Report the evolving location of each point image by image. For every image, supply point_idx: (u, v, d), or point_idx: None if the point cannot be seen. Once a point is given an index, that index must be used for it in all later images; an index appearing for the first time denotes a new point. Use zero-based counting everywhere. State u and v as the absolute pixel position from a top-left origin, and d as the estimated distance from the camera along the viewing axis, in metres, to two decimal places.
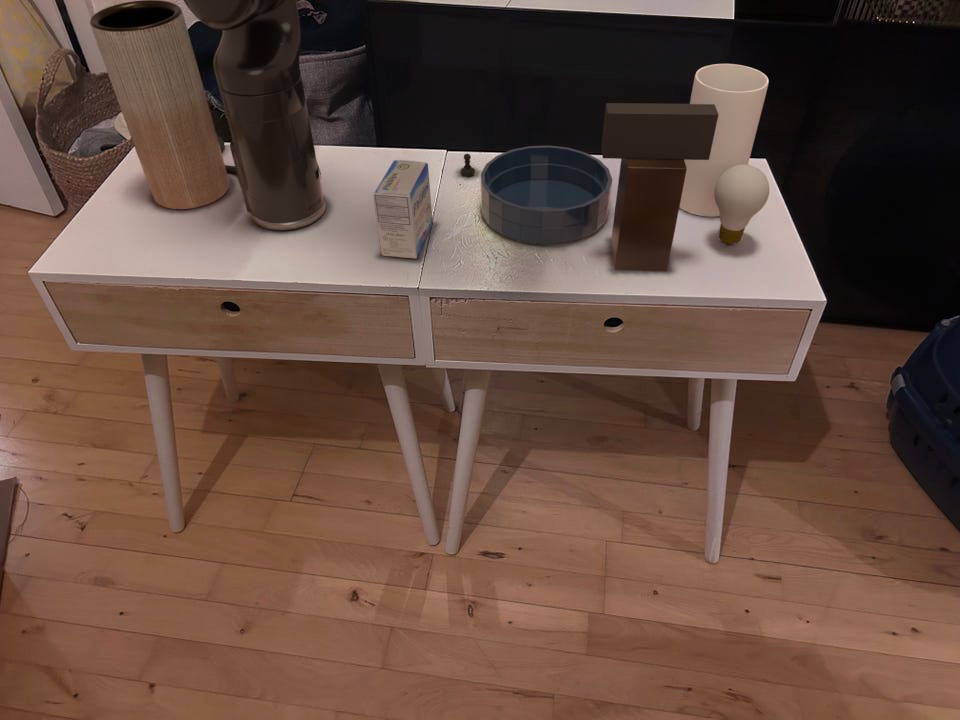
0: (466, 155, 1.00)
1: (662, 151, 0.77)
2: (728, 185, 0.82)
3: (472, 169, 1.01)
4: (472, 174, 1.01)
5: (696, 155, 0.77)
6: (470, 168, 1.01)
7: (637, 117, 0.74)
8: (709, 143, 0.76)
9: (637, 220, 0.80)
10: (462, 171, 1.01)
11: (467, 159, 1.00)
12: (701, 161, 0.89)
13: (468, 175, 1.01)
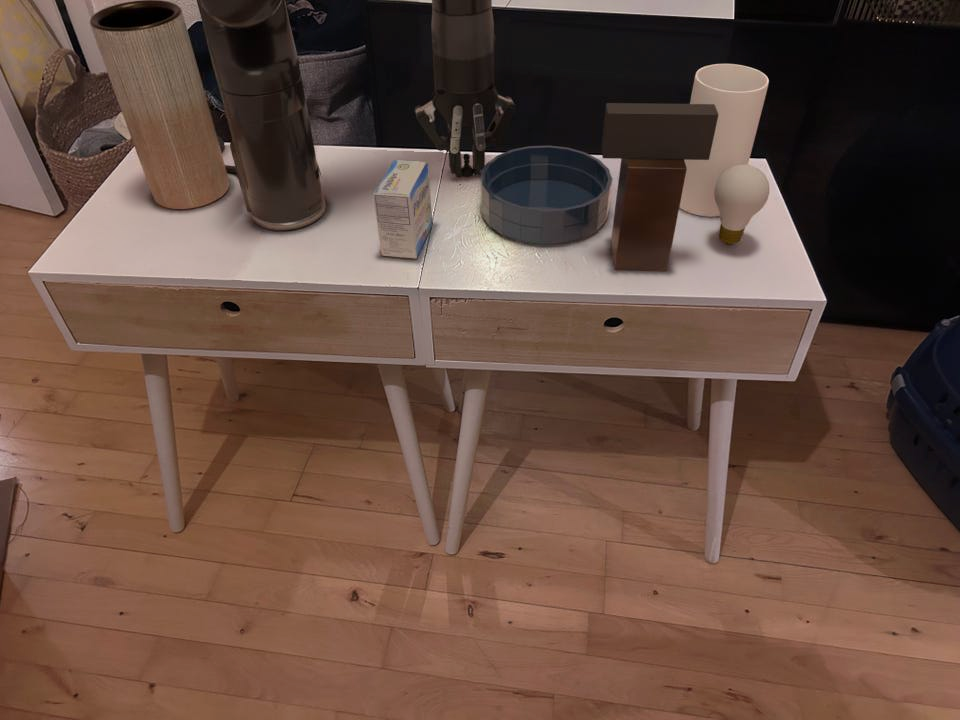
0: (465, 155, 1.00)
1: (662, 151, 0.77)
2: (728, 185, 0.82)
3: (471, 169, 1.01)
4: (471, 174, 1.01)
5: (696, 155, 0.77)
6: (469, 168, 1.01)
7: (637, 117, 0.74)
8: (709, 143, 0.76)
9: (637, 220, 0.80)
10: None
11: (466, 159, 1.00)
12: (701, 161, 0.89)
13: (467, 175, 1.01)
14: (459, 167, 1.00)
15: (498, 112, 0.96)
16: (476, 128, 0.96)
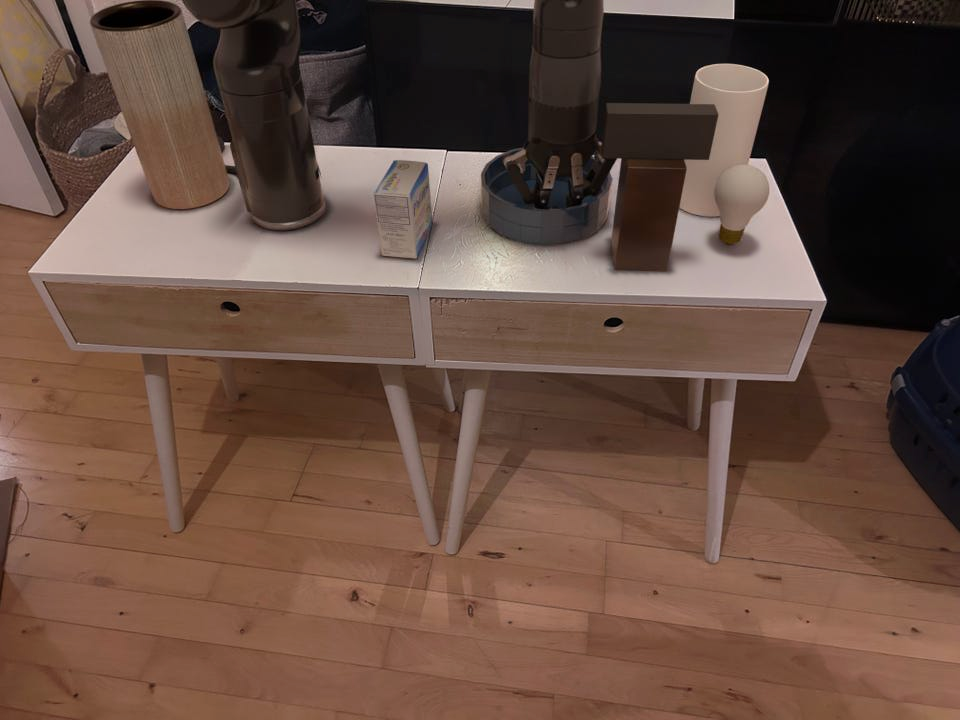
0: (554, 208, 0.89)
1: (662, 151, 0.77)
2: (728, 185, 0.82)
3: None
4: None
5: (696, 155, 0.77)
6: None
7: (637, 117, 0.74)
8: (709, 143, 0.76)
9: (637, 220, 0.80)
10: None
11: None
12: (701, 161, 0.89)
13: None
14: None
15: (598, 160, 0.85)
16: (574, 179, 0.85)
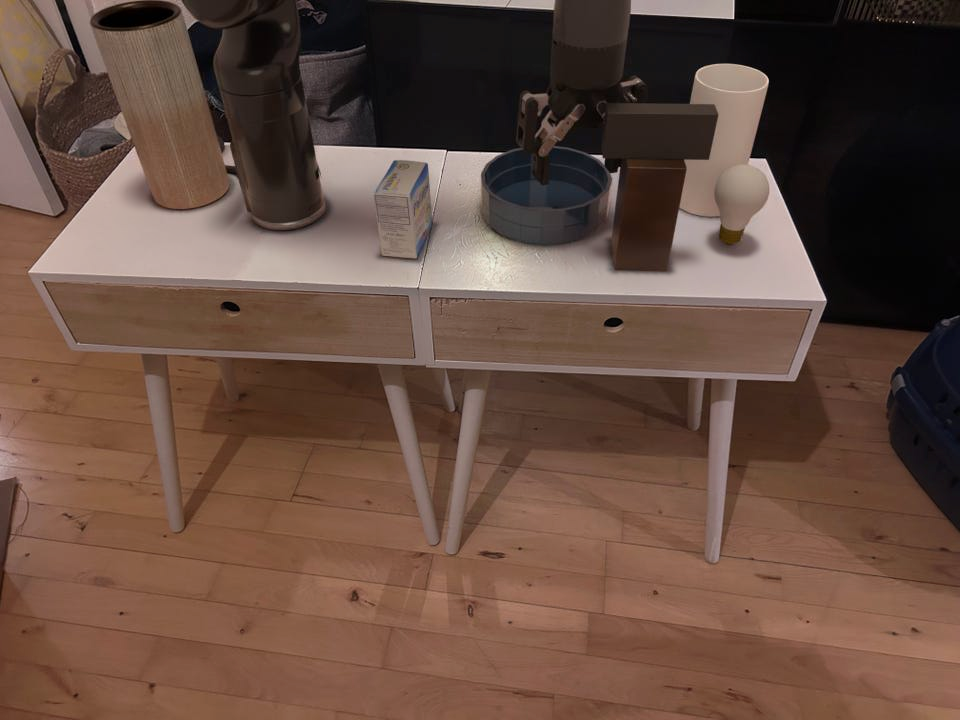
0: (554, 208, 0.89)
1: (662, 151, 0.77)
2: (728, 185, 0.82)
3: None
4: None
5: (696, 155, 0.77)
6: None
7: (637, 117, 0.74)
8: (709, 143, 0.76)
9: (637, 220, 0.80)
10: None
11: None
12: (701, 161, 0.89)
13: None
14: (547, 173, 0.82)
15: (629, 100, 0.80)
16: None
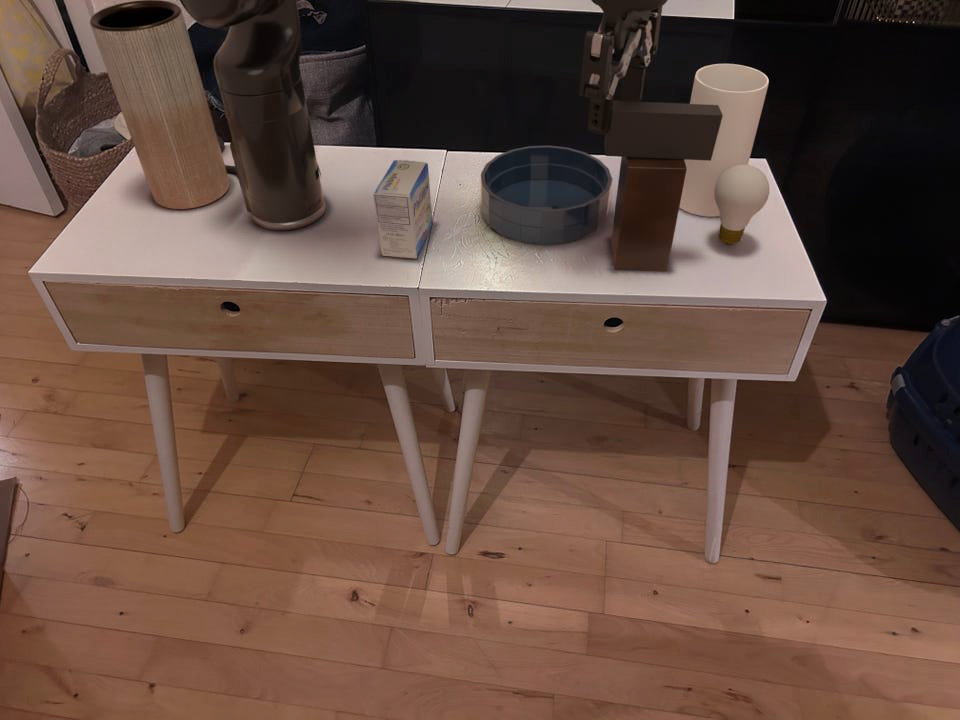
0: (554, 208, 0.89)
1: (665, 150, 0.76)
2: (728, 185, 0.82)
3: None
4: None
5: (699, 155, 0.77)
6: None
7: (642, 115, 0.74)
8: (712, 144, 0.76)
9: (637, 220, 0.80)
10: None
11: None
12: (701, 161, 0.89)
13: None
14: (610, 118, 0.74)
15: (648, 18, 0.76)
16: (648, 48, 0.75)
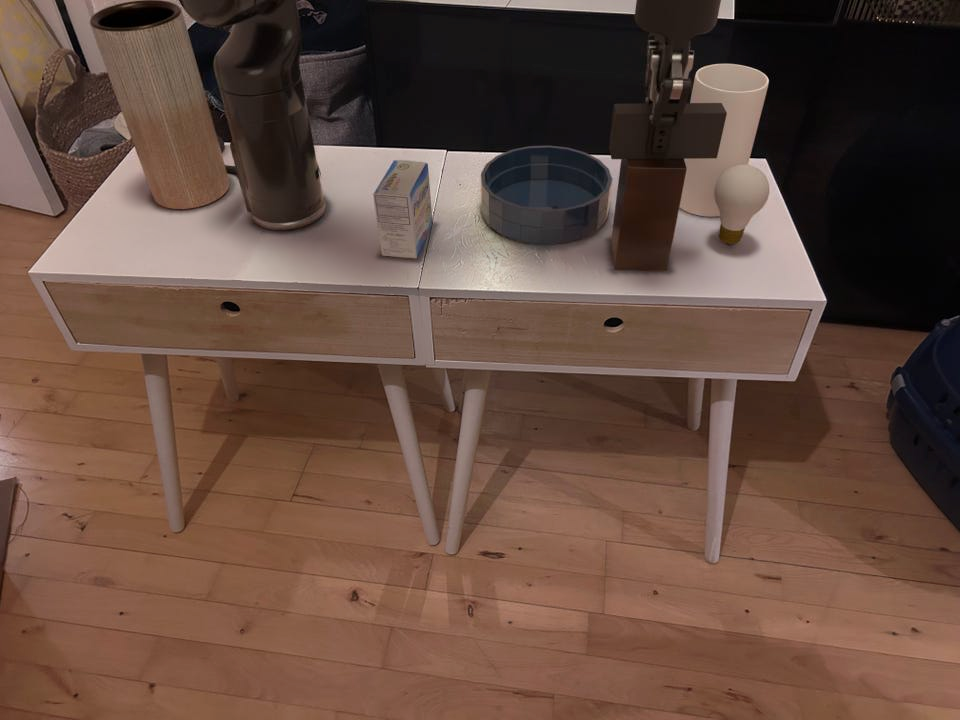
0: (554, 208, 0.89)
1: (671, 151, 0.77)
2: (728, 185, 0.82)
3: None
4: None
5: (705, 154, 0.77)
6: None
7: (646, 117, 0.74)
8: (717, 141, 0.76)
9: (637, 220, 0.80)
10: None
11: None
12: (701, 161, 0.89)
13: None
14: (669, 141, 0.76)
15: None
16: None
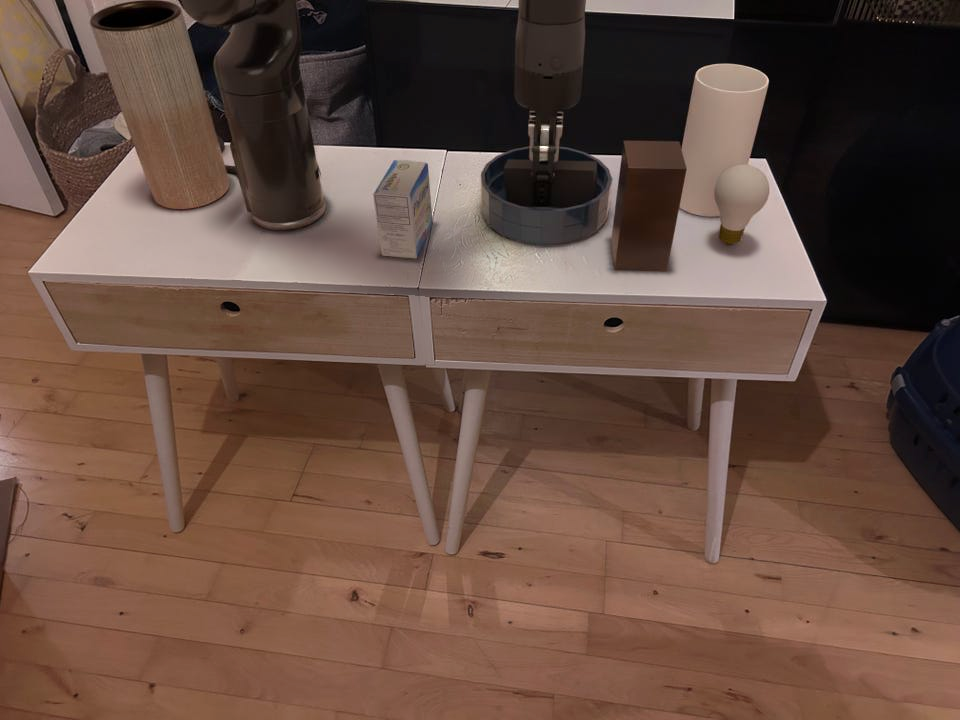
0: None
1: (553, 200, 0.91)
2: (728, 185, 0.82)
3: None
4: None
5: None
6: None
7: (527, 171, 0.89)
8: (591, 194, 0.89)
9: (637, 220, 0.80)
10: None
11: None
12: (701, 161, 0.89)
13: None
14: None
15: None
16: None
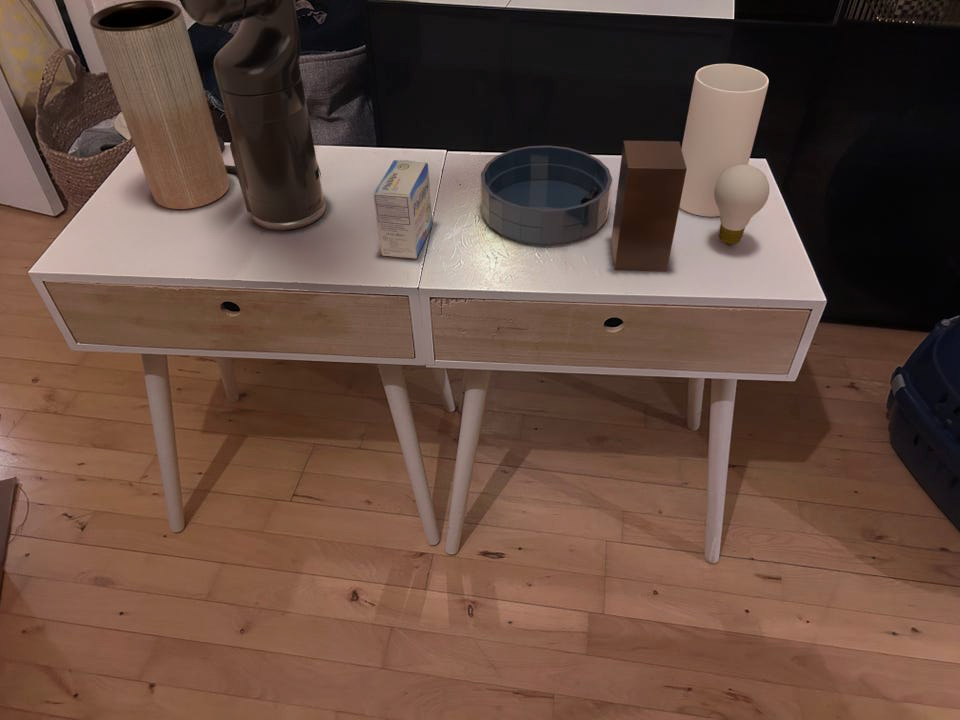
0: None
1: None
2: (728, 185, 0.82)
3: None
4: None
5: None
6: None
7: None
8: None
9: (637, 220, 0.80)
10: None
11: (595, 190, 0.93)
12: (701, 161, 0.89)
13: (592, 198, 0.92)
14: None
15: None
16: None
